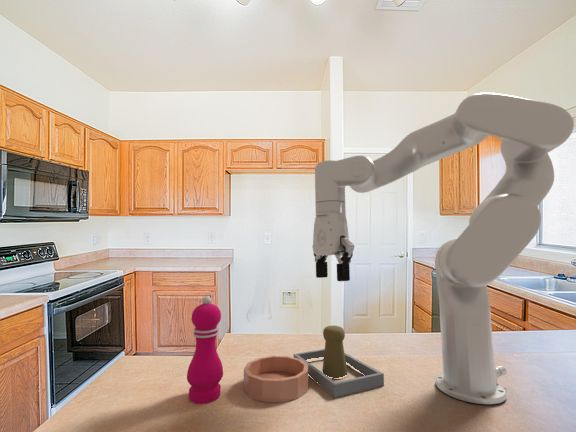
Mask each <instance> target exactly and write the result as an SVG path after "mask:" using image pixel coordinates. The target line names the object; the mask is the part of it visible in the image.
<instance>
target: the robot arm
mask: <svg viewBox="0 0 576 432" xmlns="http://www.w3.org/2000/svg"><path fill="white" fill-rule="evenodd" d="M574 126H575V125H574V119H573V116H572V115H571V114H570V112H569V111H567V110H566V109H565V108H563V107H562V106H559V105H556V104H553V103H550V102H545V101H540V100H534V99H530V98H524V97H519V96H515V95H508V94H503V93H502V94H501V93H495V92H492V93H491V92H480V93H475V94H474V93H473V94H471V95H469V96H467V97H466V98H464V99H463V100H462V101H461V102H460V103H459V105H458V107H457V109H456V110H455V112H454V113H453V114H451V115H449V116H446V117H444V118H442V119H440V120H437V121H435V122H432V123H430V124H429V125H426V126H423V127H421V128H419V129H416V130H414V131H412V132H410V133H409V134H408V135H406V136H405V137H404V138H403V139H401V141H399V143H398V144H397V145H396V146H395V147H394V148H393V149H392V150H391V151H389V152H387V154H385V155H382V156H381V157H378V158H377V159H375V160H372V159H371V158H370V157H368V156H365V155H353V156H350V157H347V158H343V159H339V160H338V159H337V160H332V159H331V160H324V161H320V162H318V163H317V164H315V167H314V182H315V183H314V190H315V191H314V192H315V195H314V196H315V202H314V203H315V218H314V222H313V223H314V224H313V238H312V251H313V257H314V263H315V278H317V279H319V278H321V279H322V278H327V277H328V276H329V275H328V272H329V271H328V261H327V258H329V257H328V256H335V258H336V260H337V262H338V263H336V280H337V282H350V279H351V277H350V273H351V272H350V270H351V269H350V264H351V263H352V260H351V259H352V258H353V256H354V255H353V254H354V253H353V252H354V249H355V244H354V243H353V242H351V240H350V239H349V228H348V226H349V225H348V220H347V214H346V211H347V210H346V187H350V189H351V190H353V191H354V192H356V193H361V194H364V193H369V192H371V191H374V190H377V189H379V188H381V187H384V186H386V185H389V184H391V183H393V182H396V181H398V180H400V179H402V178H404V177H405V176H407V175H410V174H411V173H414V172H416V171H418V170H420V169H421V168H424V167H426V166H428V165H431V164H433V163H435V162H437V161H440V160H442V159H445V158H447V157H450V156H452V155H455V154H457V153H460V152H463V151H465V150H467V149H469V148H472V147H474V146H477V145H479V144H481V143H482V142H483V141H485V140H486V139H487V138H488V137H489V136H491V137H495V138H498V139H501V142H500V152H501V156H502V157H503V158H502V159H503V160H504V162H505V167H506V169H505V173H504V174H503V175H502V178H501V179H500V180H499V181H498V182H497V184H496V185H495V187H494V188H492V190H491V191H490V192H489V193H488V195H487V196H486V197H485V198H484V199H483V200H482V202H481V203H479V204H478V205H477V206H476V207H475V208H474V209H473V211H472V212H471V214H470V216H469V217H470V218H469V220H468V225H467V227H466V228H465V229H464V230H463V231H462V232H461V234H460V235H459V236H458V237H457V238H455V239H451V240H447V241H446V242H444V243H443V244H442V245H441V246H440V247H439V248H438V250H437V251H436V253H435V257H434V269H435V277H436V282H437V291H438V292H437V293H438V305H439V306H438V307H439V323H440V340H441V356H442V358H441V359H442V373H440V374H438V375H437V376H436V377H435V384H436V387H437V388H438V389H439V390H440V391H441V392H442V393H444V394H446V395H447V396H449V397H452V398H453V399H457V400H460V401H464V402H468V403H471V404H476V405H477V404H478V405H497V404H501V403H503V402H505V401H506V399H507V391H506V389H505V388H504V387H503V386H502V385H501V384H500V383H498V379H499V377H502V376H505V375H507V372H508V371H507V369H506V367H504V366H503V365H496V366H495V356H494V355H495V354H494V343H493V331H492V329H493V328H492V318H491V317H492V315H491V314H492V313H491V304H490V303H491V302H490V296H489V290H488V286H489V285H491V284H492V283H493V282H494V281H495V280H497V279H498V278H499V277H501V276H502V275H503V273H504V272H505V271H506V270H507V269H508V268H509V267H510V266H511V264H512V263H513V262H514V261H515V260H516V259H517V258H518V256H520V254H521V253H522V252H523V251H524V250H525V249H526V247H527V246H528V245H530V243H531V242H532V241H533V239H534V238H535V237H536V236H537V234H538V231H539V229H540V226H541V222H542V215H541V211H540V209H539V205H540V204H541V203H542V202H543V200H544V199H545V198H546V196H547V195H548V193H550V190H551V189H552V187H553V185H554V182H555V170H554V165H553V162H552V160H551V157H550V155H549V153H551V152H552V151H553V150H555V149H557V148H558V147H560V146H561V145H562V144H564V143H566V141H567V140H568V139H569V138H570V136H571V135H572V133H573V130H574Z"/></svg>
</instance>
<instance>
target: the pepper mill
mask: <svg viewBox="0 0 576 432" xmlns="http://www.w3.org/2000/svg"><path fill="white" fill-rule="evenodd" d="M201 301H202V304H199V305H197V306H196V307H195V308H193V311H192V313H191V319H190V320H191V323H192V325H193V326H194V327H195V328H194V329H193V337H195V350H194V352H193V353H194V354H193V355H192V359H191V361H190V363H189V365H188V368H187V371H186V381H187V383H188V384H189V385H190V387H189V388H188V400H189V401H190V403H194V404H199V405H200V404H201V405H202V404H209V403H212V402H214V401H216V400H217V399H219V397H221V394H222V393H221V392H222V391H221V390H222V388H221V384H220V382H221V380H222V378H223V376H224V367H223V363H222V360H221V359H220V357H219V353H218V351H217V346H216V344H217V335H219V326H218V325H219V323H220V321H221V319H222V313H221V309H220V308H219V307H218V306H217V305H216V304H213V303H212V298H211V297H210V296H207V295H205V296H204V297H203V298H202V300H201Z"/></svg>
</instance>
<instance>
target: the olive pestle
mask: <svg viewBox="0 0 576 432" xmlns="http://www.w3.org/2000/svg"><path fill="white" fill-rule="evenodd" d="M345 333H346V332H345V330H344V328H343V327H342V326H339V325H327V326H325V327H324V329H323V331H322V336H323V339H324V341H325V344H324V349H325V351H324V360H322V361H323V363H322V371H323V373H324V374H325V375H327V376H329V377H333V378H339V377H343V376H345V375H347V373H348V369H347V367H348V366H346V360H345V354H344V353H345V348H344V340H345V336H346V334H345ZM322 371H321V372H322Z"/></svg>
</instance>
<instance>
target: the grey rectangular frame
mask: <svg viewBox="0 0 576 432" xmlns="http://www.w3.org/2000/svg"><path fill="white" fill-rule="evenodd" d="M324 351H325V348H322V349H321V348H320V349H316V350H311V351H305V352H304V351H303V352H298V353H293V356H292V357H294V358H298V359H301V360H303V361H304V362H305V363H307V364H308V374H309V375H310V376H311V377H312V378H313V379H314V380H315V381H316V382H318V384H317V385H319V384H320V385H321V386H322V387H323V388H322V387H321V386H320V385H319V386H320V387H321V388H322V389H323V390H324V391H326V392H327V393H329V394H330V395H331V396H332V397H334V398H339V397H343V396H349V395H352V394H356V393H360V392H365V391H368V390H373V389H376V388H380V387H379V386H381V387H384V386H385V378H384V377H385V376H384V374H385V373H383V372H381V371H380V370H377V369H375V368H374V367H372V366H371V365H368V364H366V363H365V362H364V361H363V362H362V361H361V360H359V359H357V358H355V357H354V356H352V355H350V354H348V353H347V352H344V354H345V360H346V362H347V363H349V364H350V365H351V366H353V367H354V368H355V369H357V370H359V371H360V372H361V373H363V374H364V375H365V376H363V375H361V376H359V377H353V378H350V379H345V380H340V381H334V379H331V378H329V377H328V376H326V375H325V374H324V373H322V371H321V370H320V369H318V368H317V367H316V366H314V365H313V364H311V362H310V363H308V362H307V361H306V360H307V359H311V358H319V357H324ZM314 380H313V381H314ZM315 381H314V382H315ZM316 382H315V383H316ZM383 385H384V386H383Z"/></svg>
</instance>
